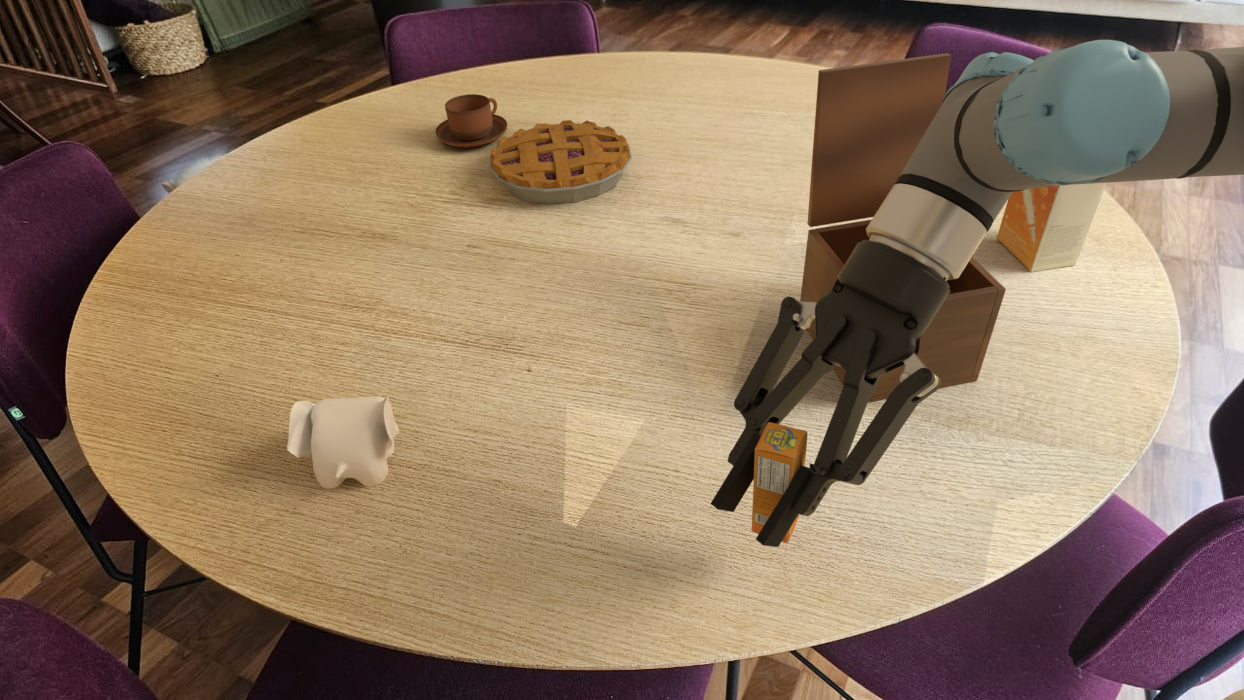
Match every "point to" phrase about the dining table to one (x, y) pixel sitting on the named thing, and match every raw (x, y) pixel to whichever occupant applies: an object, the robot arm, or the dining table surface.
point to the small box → (1049, 224)
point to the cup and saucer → (471, 122)
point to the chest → (952, 334)
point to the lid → (869, 132)
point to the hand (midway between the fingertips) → (744, 524)
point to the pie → (560, 162)
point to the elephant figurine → (344, 438)
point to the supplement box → (775, 470)
